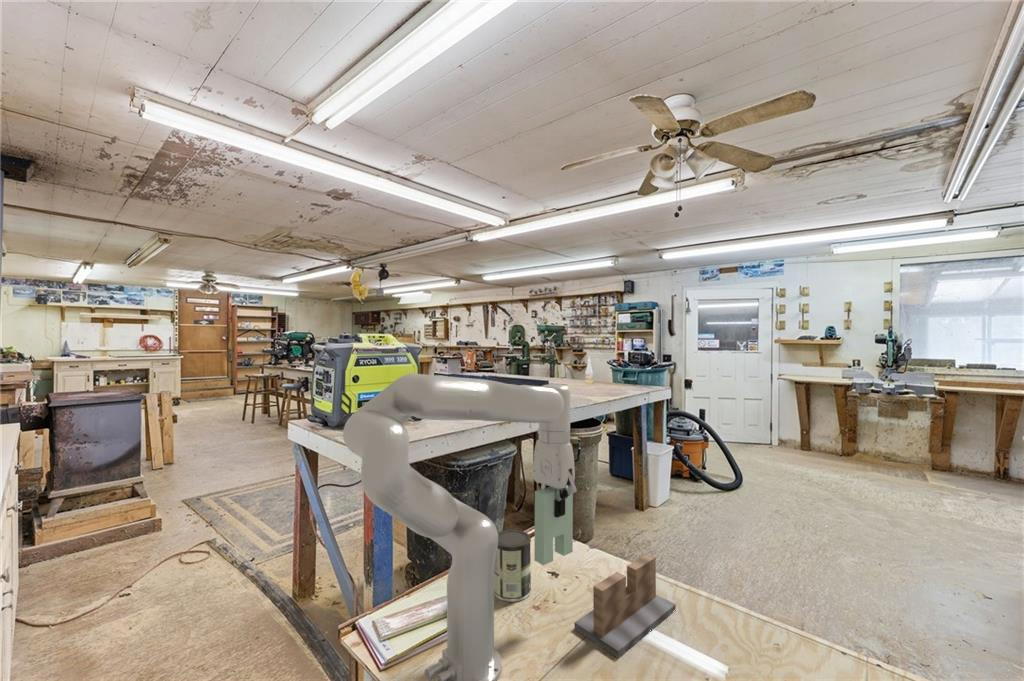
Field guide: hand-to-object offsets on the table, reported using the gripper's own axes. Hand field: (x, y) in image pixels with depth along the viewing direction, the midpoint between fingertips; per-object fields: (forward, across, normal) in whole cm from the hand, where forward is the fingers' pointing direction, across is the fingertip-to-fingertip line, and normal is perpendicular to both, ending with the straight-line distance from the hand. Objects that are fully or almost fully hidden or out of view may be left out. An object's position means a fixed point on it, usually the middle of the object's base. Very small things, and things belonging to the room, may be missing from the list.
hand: (554, 512), depth 99 cm
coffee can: (+26, -16, +1) cm, 30 cm away
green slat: (+10, 0, 0) cm, 10 cm away
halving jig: (+25, +11, +14) cm, 31 cm away
